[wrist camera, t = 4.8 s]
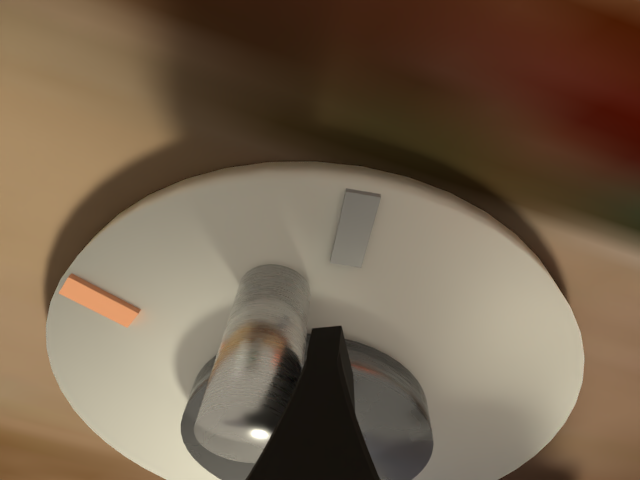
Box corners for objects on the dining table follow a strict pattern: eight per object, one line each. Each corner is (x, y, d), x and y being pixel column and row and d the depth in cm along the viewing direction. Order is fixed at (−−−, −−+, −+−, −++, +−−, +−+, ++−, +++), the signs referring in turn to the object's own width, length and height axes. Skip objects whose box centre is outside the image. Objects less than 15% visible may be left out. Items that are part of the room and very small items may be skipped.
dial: (426, 468, 20) (447, 601, 16) (228, 472, 21) (200, 596, 17) (427, 250, 12) (467, 398, 8) (120, 276, 14) (26, 415, 10)
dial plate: (702, 224, 13) (735, 250, 12) (458, 512, 26) (463, 538, 25) (-6, 103, 12) (-43, 119, 11) (103, 466, 25) (91, 491, 24)
